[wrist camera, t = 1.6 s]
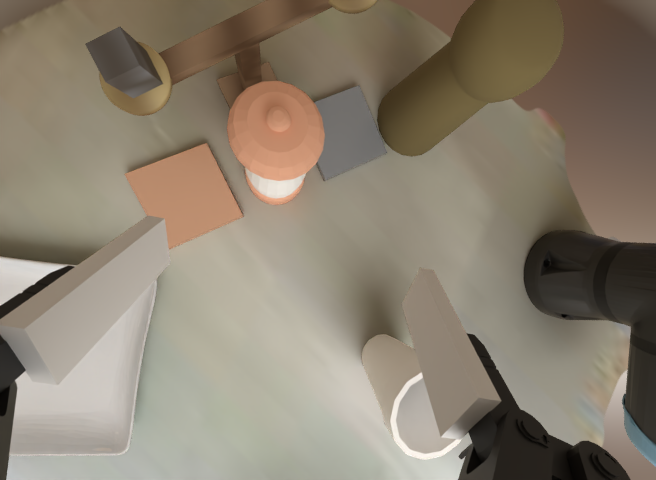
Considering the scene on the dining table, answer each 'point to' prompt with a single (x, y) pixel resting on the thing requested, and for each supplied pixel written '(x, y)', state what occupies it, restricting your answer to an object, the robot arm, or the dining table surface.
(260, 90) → the pepper shaker
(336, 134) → the dish slate
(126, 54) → the balance
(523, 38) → the pepper shaker
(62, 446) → the salad plate
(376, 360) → the foam cup
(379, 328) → the dining table surface
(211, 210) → the orange square coaster
